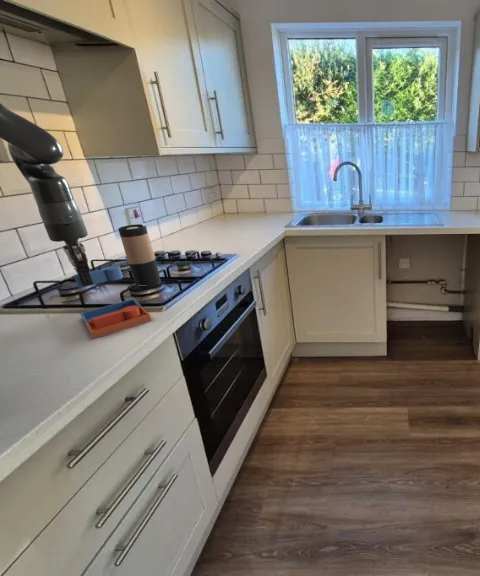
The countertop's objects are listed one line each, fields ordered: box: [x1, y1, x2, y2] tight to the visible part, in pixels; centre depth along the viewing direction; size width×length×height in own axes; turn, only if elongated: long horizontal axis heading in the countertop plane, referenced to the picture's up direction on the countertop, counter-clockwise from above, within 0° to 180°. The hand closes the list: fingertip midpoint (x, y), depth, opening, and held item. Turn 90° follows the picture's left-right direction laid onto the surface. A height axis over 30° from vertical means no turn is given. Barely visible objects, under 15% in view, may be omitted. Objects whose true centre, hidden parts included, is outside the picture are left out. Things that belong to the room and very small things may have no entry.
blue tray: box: [80, 298, 142, 328], centre depth 102 cm, size 13×8×2 cm, turn 136°
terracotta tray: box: [85, 305, 152, 339], centre depth 96 cm, size 13×8×2 cm, turn 136°
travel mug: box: [117, 223, 162, 290], centre depth 119 cm, size 8×8×20 cm
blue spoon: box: [73, 265, 124, 289], centre depth 97 cm, size 10×4×3 cm, turn 136°
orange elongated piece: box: [92, 306, 141, 329], centre depth 96 cm, size 10×4×3 cm, turn 136°
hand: (87, 284), depth 96 cm, fingers closed on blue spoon, 1 cm apart
